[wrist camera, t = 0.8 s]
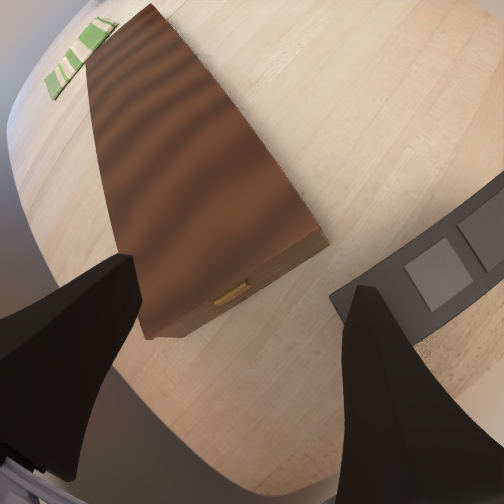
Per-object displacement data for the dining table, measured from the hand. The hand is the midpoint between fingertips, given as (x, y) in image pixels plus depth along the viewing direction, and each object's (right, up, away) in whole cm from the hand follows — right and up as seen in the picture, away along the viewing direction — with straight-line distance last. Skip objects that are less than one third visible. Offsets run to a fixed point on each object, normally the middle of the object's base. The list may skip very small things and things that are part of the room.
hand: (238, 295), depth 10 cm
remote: (+11, 0, +4) cm, 11 cm away
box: (-11, +19, +28) cm, 36 cm away
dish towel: (-43, +51, +52) cm, 84 cm away
